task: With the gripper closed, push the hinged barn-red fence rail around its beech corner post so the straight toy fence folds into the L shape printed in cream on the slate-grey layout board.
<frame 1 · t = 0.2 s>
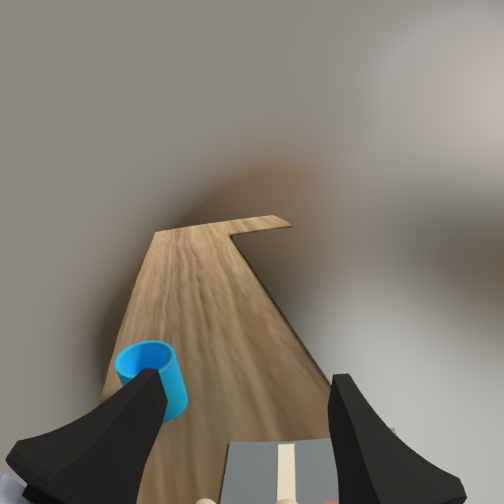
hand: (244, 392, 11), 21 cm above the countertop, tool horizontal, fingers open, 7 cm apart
mug: (159, 412, 35), on the countertop
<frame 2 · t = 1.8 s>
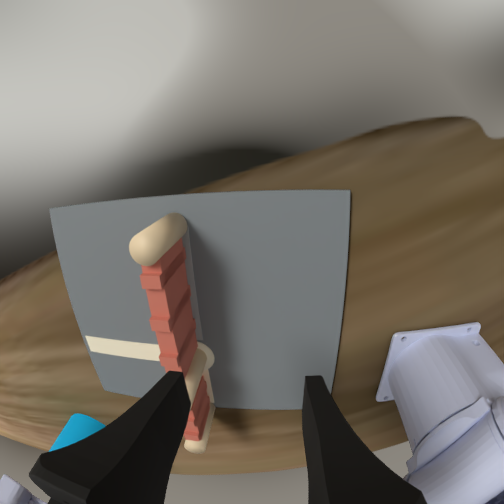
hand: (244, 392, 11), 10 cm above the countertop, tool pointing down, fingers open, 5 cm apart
layout board: (190, 321, 23), on the countertop
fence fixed: (196, 353, 24), resting on layout board
mug: (106, 433, 31), on the countertop
fence panel: (171, 300, 19), point 3 cm above the countertop, hinge at 0.0°
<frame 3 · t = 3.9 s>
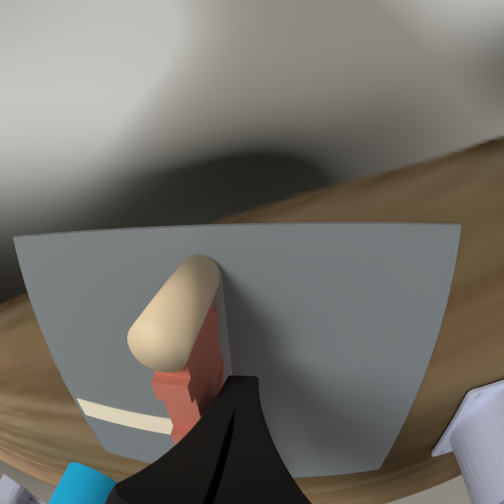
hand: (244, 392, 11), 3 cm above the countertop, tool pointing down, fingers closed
layout board: (220, 396, 15), on the countertop
mug: (110, 483, 24), on the countertop
fence panel: (199, 391, 11), point 3 cm above the countertop, hinge at 0.0°, touching gripper
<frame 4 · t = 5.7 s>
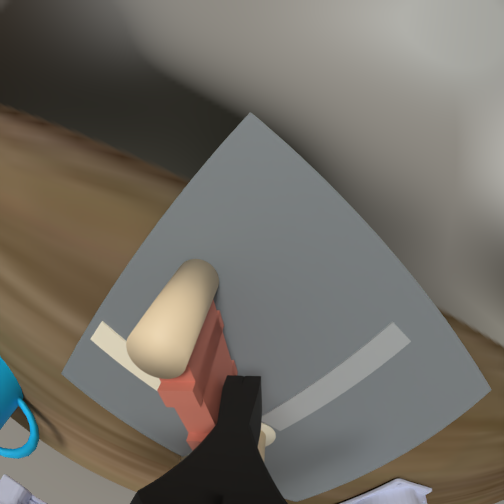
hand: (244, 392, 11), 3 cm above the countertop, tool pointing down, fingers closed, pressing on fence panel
layout board: (288, 409, 15), on the countertop
mug: (8, 381, 19), on the countertop
fence panel: (212, 395, 11), point 3 cm above the countertop, hinge at 52.8°, touching gripper
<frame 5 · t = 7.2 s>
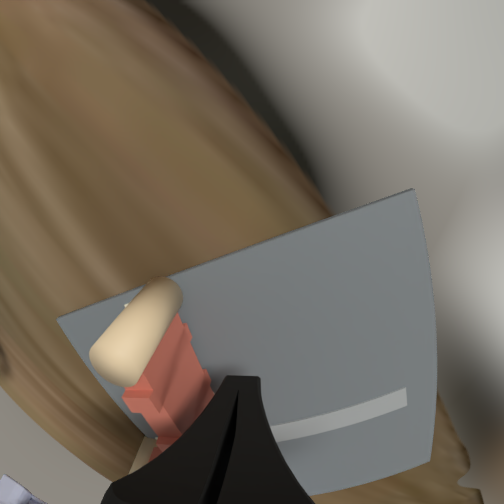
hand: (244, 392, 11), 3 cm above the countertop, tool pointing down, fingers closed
layout board: (282, 428, 16), on the countertop
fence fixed: (234, 436, 17), resting on layout board
fence panel: (182, 402, 12), point 3 cm above the countertop, hinge at 82.0°
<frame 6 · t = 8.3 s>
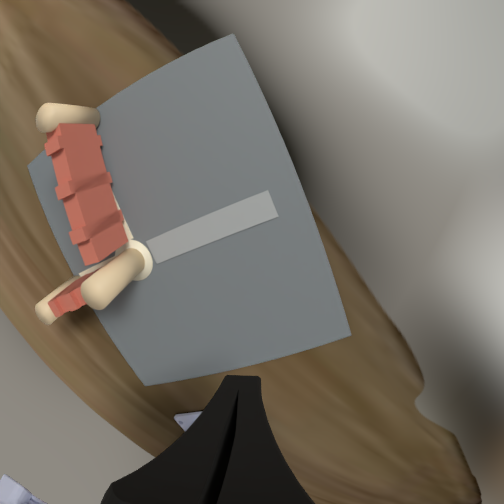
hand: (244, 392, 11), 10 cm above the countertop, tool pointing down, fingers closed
layout board: (170, 243, 20), on the countertop
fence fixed: (135, 258, 21), resting on layout board
fence panel: (83, 178, 16), point 3 cm above the countertop, hinge at 82.0°
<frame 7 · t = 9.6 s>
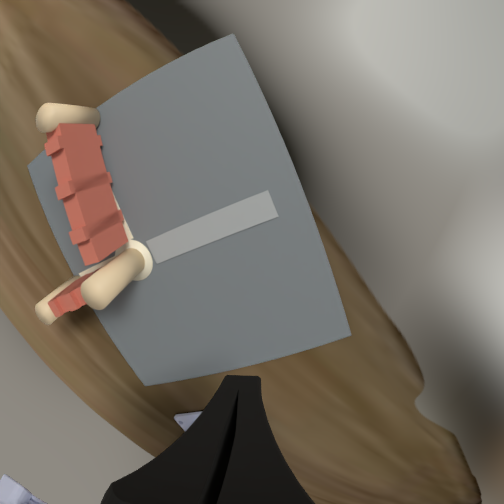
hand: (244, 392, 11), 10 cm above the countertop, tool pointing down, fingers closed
layout board: (170, 243, 20), on the countertop
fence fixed: (135, 258, 21), resting on layout board
fence panel: (83, 178, 16), point 3 cm above the countertop, hinge at 82.0°
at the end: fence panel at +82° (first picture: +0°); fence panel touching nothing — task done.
